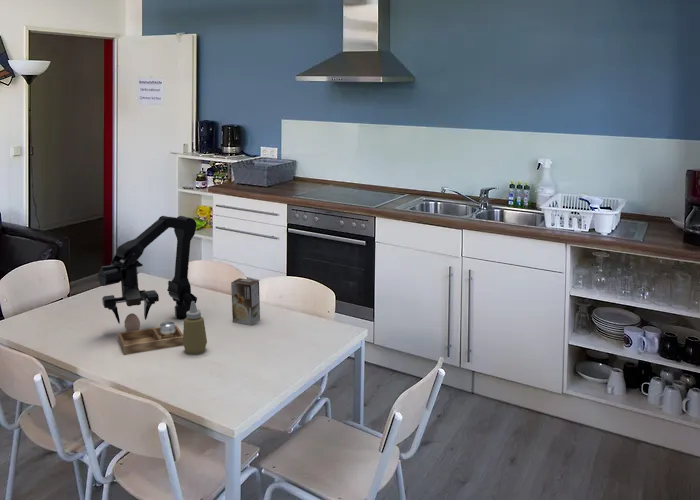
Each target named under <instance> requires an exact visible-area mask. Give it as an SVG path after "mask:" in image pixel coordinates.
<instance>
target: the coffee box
mask: <svg viewBox="0 0 700 500" xmlns="http://www.w3.org/2000/svg"><path fill="white" fill-rule="evenodd" d="M230 289H231V309H232V310H231V312H232V323H236V324H243V325H248V326H254V325H256V324H257V323H259V322H260V321H261V305H260V281H259V280H255V279H247V278H242V277H241V278H240V277H239V278H237V279H235V280H233V281H231V286H230Z"/></svg>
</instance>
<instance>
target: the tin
mask: <svg viewBox="0 0 700 500" xmlns="http://www.w3.org/2000/svg"><path fill="white" fill-rule="evenodd" d="M175 325H176V323H175V322H174V321H163V322H161V323H160V324H159V327H160V334H161V340H162V339H168V338H175V337H176V331H175Z"/></svg>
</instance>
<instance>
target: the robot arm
mask: <svg viewBox="0 0 700 500" xmlns="http://www.w3.org/2000/svg"><path fill="white" fill-rule="evenodd" d="M170 228H171V229H173V232H174V234H175V238H176V242H177V243H176V253H175V266H174V267H175V268H174V276H173V278H172V280H168V281H167V285H168V287H167V292H168V295H169V296H170V297H171V298H172V300H173V302H175V305H174V317H175V318H176V319H177V320H184V319H185V318H186V317H187V312H188V311H190V306H191V302H192V301H195V304H196V303H197V301H198V297H196V296H195V295H194V294H193V293H192V291H191V290H192V289H191V284H190V280H189V278H188V277H189V276H188V275H189V266H190V265H189V264H190V263H189V262H190V250H191V241H192V239H194V236H195V234H196V231H197V221H196V219H194V218H192V217H189V216H184V215H178V216H177V217H175V216H174V217H173V216H167V215H161V216H159V218H158V219H157V220H156V221H154V222H153V224H151V225H150V226H148V227H147V228H146V229H144V231H142V232H141V233H140V234H139V235H138V236H137V237H135V238H133V239H131V240H127V241H126V242H124V243H122V244H121V245H119V246H118V247H117V248H116V253H115V255H114V256H113V258H112V260H111V261H110V265H109V264H108V265H103V266H100V267H99V268H100V270H99V271H98V274H97V279H98V282H99V284H100V286H101V287H106V286H110V285H115V284H121V285H120V286H121V287H120V288H121V296H120V297H115V295H114V294H112V295H104V296H103V297H102V299H101V300H102V306H103V307H104V308H105V309H108V310H109V311H110V310H111V311H112V312H113V314H114V316H115V318H116V320H117V323H118V325H119V324H121V322H120V321H121V320H120V315H119V312H118V306H117V304H119V303H120V304H121V303H125V304H126V306H127V307H132V306H133V307H134V306H140V305H141V304H142V302H144V303H143V304H144V305H143V310H144V311H143V317H144V318H143V319H144V320H145V321H147V318H148V315H149V311H150V309H151V307H152V305H154V304H156V302H159V301H160V296H159V293H158V292H157V291H156V290H155V289H154V290H153V289H151V290H145V289H142V290H140V289H139V276H138V275H139V274H138V268H141V267H143V263H141V262H139V258H140V257H142V255H143V254H144V252H145V249H146V248H148V246H149V245H151V243H153V242H154V241H155V240H157V239H158V238H159V237H160V236H161V235H163V233H165V232H166V231H167V230H168V229H170ZM122 261H123V262H122Z"/></svg>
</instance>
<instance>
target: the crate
mask: <svg viewBox="0 0 700 500" xmlns="http://www.w3.org/2000/svg"><path fill="white" fill-rule="evenodd" d="M175 331H176V337H175V338H168V339H162V340H161V334H160V326H156V327H151V328H143V329H138V330H136V331H129V332H128V331H124V332H118V333H117V337H118V339H117V341H118V343H119V345H120V348H121V350H122V353H123V354H124V356H125V355H132V354H137V353H144V352H149V351H155V350H161V349H169V348H173V347H180V346H184V345H183V333H182V331H181V330H180V329H179V327H178V325H177V324H175Z"/></svg>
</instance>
